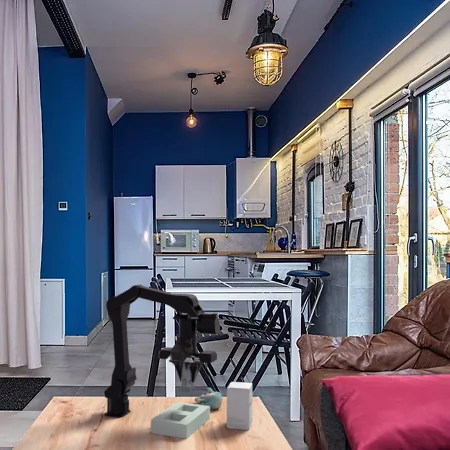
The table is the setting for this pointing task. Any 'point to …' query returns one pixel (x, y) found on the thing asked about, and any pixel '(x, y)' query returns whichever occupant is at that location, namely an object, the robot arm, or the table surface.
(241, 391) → the supplement box
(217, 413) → the table surface
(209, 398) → the stuffed animal
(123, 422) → the table surface
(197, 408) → the socket board
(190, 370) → the steel pin
